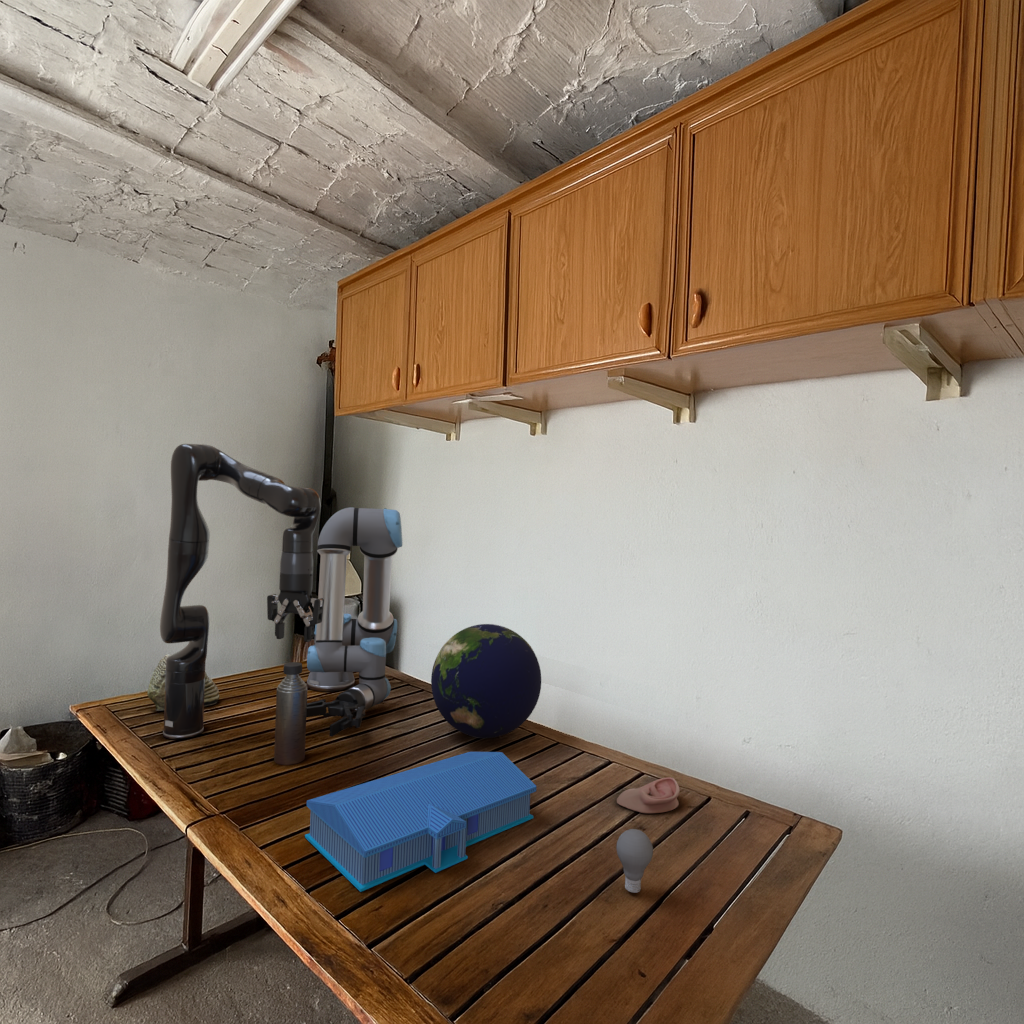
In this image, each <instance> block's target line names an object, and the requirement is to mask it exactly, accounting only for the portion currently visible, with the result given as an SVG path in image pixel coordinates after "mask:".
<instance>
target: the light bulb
mask: <svg viewBox="0 0 1024 1024" xmlns="http://www.w3.org/2000/svg"><path fill="white" fill-rule="evenodd" d="M615 849H616V854H617V857H618V859H619V861H620V863H621V865H622V867H623V873H624V874H623V875H624V876H625V878H624V888H625V890H627V891H628V892H630V893H634V894H635V893H639V892H640V891H641V889H642V887H641V886H642V879H643V877H644V875H645V871H646V868H647V867H648V866H649V864H650V863H651V861H652V859H653V855H654V847H653V843H652V841H651V838H649V836H648V835H647V834H646V833H645V832H643V831H642V830H641V829H636V828H629V829H627V830H625V831H623V832H622V833H621V834H620V835H619V837H618V839H617V841H616V847H615Z"/></svg>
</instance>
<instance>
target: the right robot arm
mask: <svg viewBox="0 0 1024 1024" xmlns="http://www.w3.org/2000/svg"><path fill="white" fill-rule="evenodd" d="M401 517H402V516H401V513H400V512H399V510H397V509H388V508H370V507H369V508H368V507H354V506H353V507H352V506H351V507H345V508H342V509H340V510H338V511H336V512H335V513H334V514H332V516H330V517H329V518H328V520H326V522H325V524H324V525H323V527H322V529H321V531H320V533H319V536H318V540H317V550H316V551H317V554H319V555H320V563H319V581H318V598H317V599H319V598H323V599H324V607H323V617H322V622H321V623H318V624H315V625H314V644H313V645H310V646H309V647H308V648H307V656H306V658H307V659H306V668H307V671H308V672H309V673H308V674H309V675H308V677H307V680H306V684H307V689H309V690H313V691H317V692H339V691H342V692H340V693H339V694H338V695H337V696H336V698H335V699H334V700H332V701H327V700H326V699H324V698H323V699H320V700H316V701H313V702H307V714H306V719H308V718H312V717H320V716H323V717H324V718H326V717H339V718H340V719H338V720H337V721H334V722H333V723H331V724H329V734H328V735H329V737H334V736H336V735H338V734H340V732H342V731H346V730H348V729H351V728H353V727H355V728H356V729H360V728H361V725H362V721H363V718H364V717H365V716H366V711H367V710H369V709H371V708H373V707H375V706H376V705H378V704H381V703H383V701H384V700H386V699H387V698H388V697H389V696H390V694H391V690H392V687H391V683H390V681H389V679H388V677H386V664H387V654H390V653H392V652H393V651H394V648H395V645H396V641H397V632H398V620H397V619H396V618H394V616H393V613H392V612H391V611H390V606H391V605H390V604H391V588H392V587H391V586H392V568H393V557H394V556H395V555H396V554H397V552H398V549H399V548H402V547H403V532H402V529H403V528H402V518H401ZM352 546H353V547H359V551H360V553H361V554H362V555H363V557H364V559H363V589H362V591H363V592H362V611H361V612H360V613H359V614H358V616H357V618H353V617H352V614H350V613H345V598H346V578H347V562H348V561H347V559H348V556H349V555H350V554H351V548H352ZM354 673H358V684H357V685H355V681H356V679H355V675H354ZM326 701H327V702H326Z"/></svg>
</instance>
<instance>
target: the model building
mask: <svg viewBox="0 0 1024 1024" xmlns="http://www.w3.org/2000/svg"><path fill="white" fill-rule="evenodd" d="M537 789H538V788H537V785H536V784H535V783H534V782H533V781H532V780H531V779H530V778H529V777H528V776H527V775H526V774H525V773H524V772H523V771H522V770H521V769H520V768H519V767H518V766H517V765H516V764H515V763H513V761H511V759H510V758H509V757H507V755H505V754H504V752H502V751H468V752H464V753H460V754H457V755H454V756H450V757H447V758H444V759H441V760H437V761H434V762H431V763H427V764H424V765H421V766H418V767H414V768H411V769H407V770H404V771H400V772H398V773H394V774H390V775H387V776H384V777H381V778H377V779H374V780H371V781H366V782H364V783H360V784H357V785H354V786H350V787H347V788H344V789H341V790H340V789H339V790H337V791H334V792H330V793H327V794H324V795H321V796H320V795H319V796H316V797H314V798H310V799H308V800H306V807H307V808H308V809H309V811H310V817H309V819H310V820H309V822H310V823H309V832H308V833H306V834H304V838H305V839H306V840H307V841H308V842H309V843H310V844H311V845H312V846H313V847H314V848H315V849H316V850H317V851H318V852H319V853H320V854H321V855H322V856H323V857H324V858H325V859H326V860H327V861H328V862H329V863H330V864H331V865H332V866H334V868H335V869H336V870H338V872H339V873H340V874H342V875H343V876H344V877H345V879H346V880H348V881H349V882H350V883H351V884H352V885H353V886H354V887H355V888H356V889H357V891H359V892H360V893H363V892H364V891H366V890H370V889H371V888H373V887H375V886H378V885H381V884H382V883H385V882H388V881H389V880H392V879H394V878H397V877H400V876H402V875H404V874H406V873H409V872H410V871H413V870H416V869H418V868H420V867H423V866H426V867H427V868H429V870H431V871H432V872H433V873H435V874H437V873H439V872H441V871H443V870H445V869H448V868H450V867H452V866H455V865H457V864H459V863H461V862H463V861H466V860H469V859H468V857H469V856H468V855H467V854H466V848H467V847H469V846H472V845H474V844H476V843H479V842H482V841H484V840H486V839H488V838H490V837H493V836H496V835H497V834H500V833H502V832H505V831H506V830H507V831H508V830H510V829H512V828H513V827H516V826H519V825H521V824H524V823H526V822H528V821H530V820H533V819H534V815H533V814H531V813H530V812H531V811H530V810H531V794H533V793H535V792H537Z"/></svg>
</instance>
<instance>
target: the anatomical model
mask: <svg viewBox="0 0 1024 1024" xmlns="http://www.w3.org/2000/svg"><path fill="white" fill-rule="evenodd" d="M680 793H681V790H680V786H679V783H678V781H677V780H676V779H675V778H674V777H670V776H669V777H668V776H667V777H662V778H659V779H656V780H653V781H651V782H648V783H647V784H645V785H643V786H640V787H637V788H634V787H633V788H628V789H625V790H623V791H622V792H621V793H620V794H619V795H618V797H617V798H616V804H617V805H619V806H621V807H624V808H626V809H628V810H631V811H633V812H639V813H642V814H659V813H660V814H661V813H665V812H670V811H672V810H674V809H676V808H678V807H679V805H680V803H679V802H680V801H679V800H678V797H679V795H680Z"/></svg>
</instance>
